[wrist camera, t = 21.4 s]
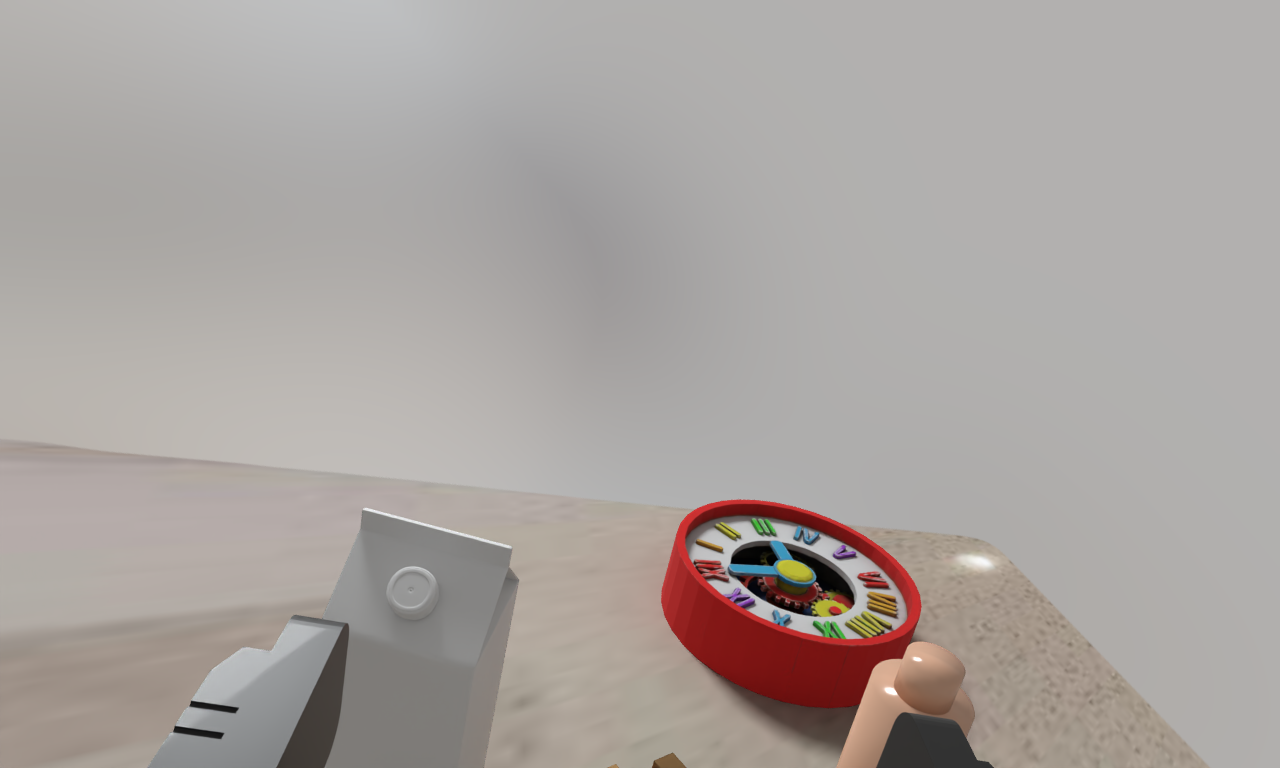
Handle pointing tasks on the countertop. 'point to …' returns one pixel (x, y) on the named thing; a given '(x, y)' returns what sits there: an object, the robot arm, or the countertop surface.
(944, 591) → the countertop surface
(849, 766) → the peach bottle
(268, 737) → the robot arm
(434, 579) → the milk carton
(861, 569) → the toy clock
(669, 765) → the golden stepped frame
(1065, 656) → the countertop surface
